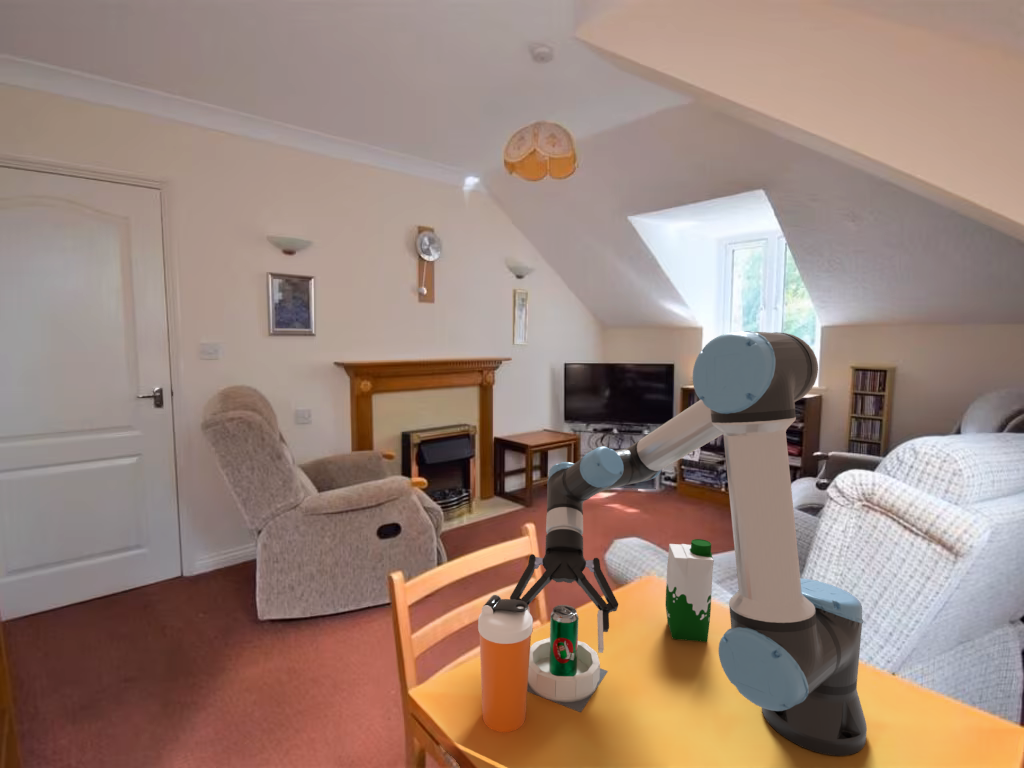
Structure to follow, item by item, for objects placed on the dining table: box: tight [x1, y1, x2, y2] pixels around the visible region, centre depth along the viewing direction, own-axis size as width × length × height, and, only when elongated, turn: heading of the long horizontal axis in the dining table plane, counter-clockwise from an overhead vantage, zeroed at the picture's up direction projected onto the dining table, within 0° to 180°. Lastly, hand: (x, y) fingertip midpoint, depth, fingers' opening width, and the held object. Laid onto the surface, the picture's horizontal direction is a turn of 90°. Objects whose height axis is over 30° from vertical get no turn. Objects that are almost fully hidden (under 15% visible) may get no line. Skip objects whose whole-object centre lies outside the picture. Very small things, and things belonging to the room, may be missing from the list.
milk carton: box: [665, 538, 715, 643], centre depth 115 cm, size 9×9×20 cm
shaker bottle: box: [477, 594, 534, 733], centre depth 88 cm, size 9×9×20 cm
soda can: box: [549, 604, 579, 676], centre depth 99 cm, size 5×5×12 cm
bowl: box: [528, 637, 601, 702], centre depth 99 cm, size 13×13×4 cm
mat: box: [527, 667, 609, 713], centre depth 99 cm, size 13×13×1 cm
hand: (562, 648), depth 96 cm, fingers open, 13 cm apart
